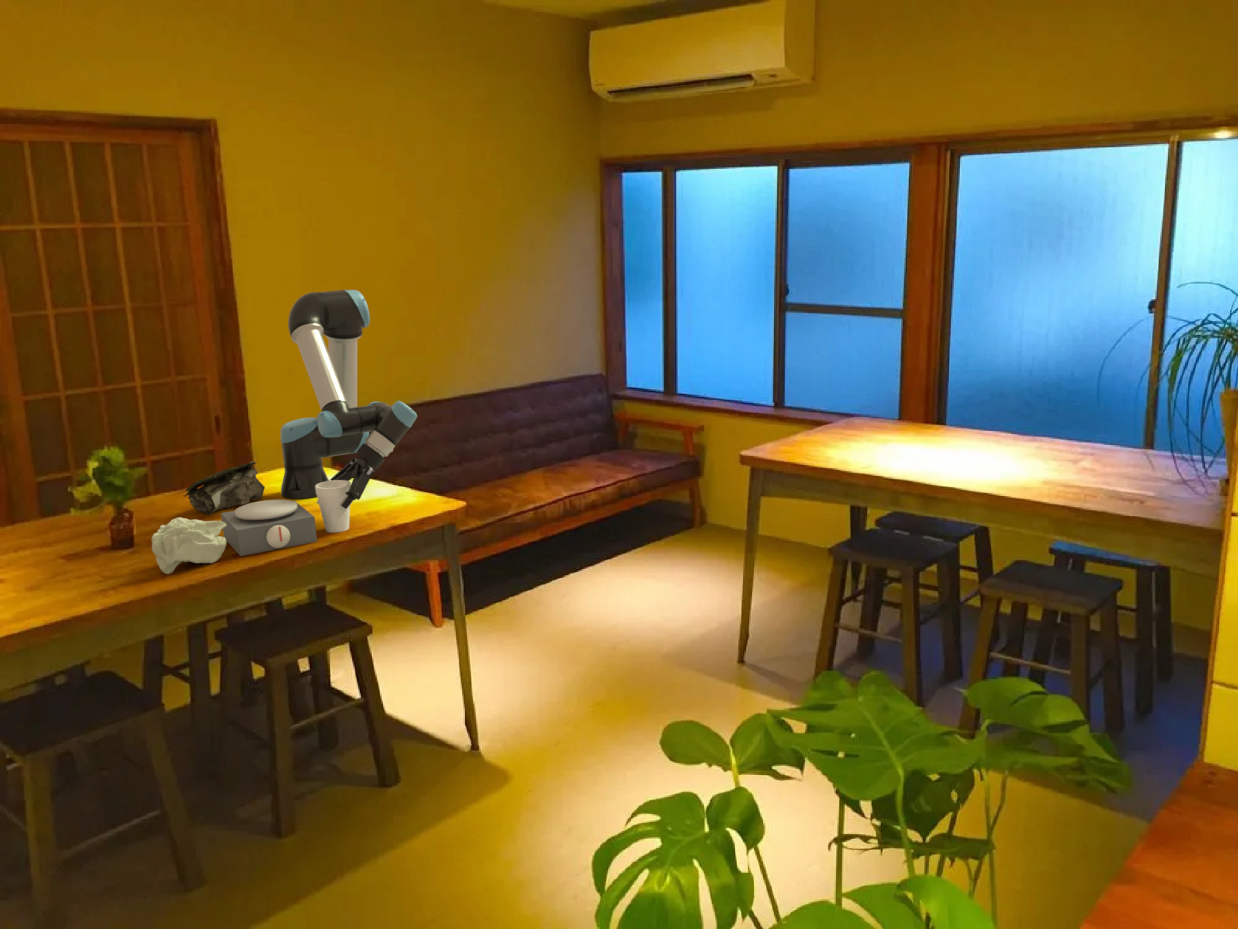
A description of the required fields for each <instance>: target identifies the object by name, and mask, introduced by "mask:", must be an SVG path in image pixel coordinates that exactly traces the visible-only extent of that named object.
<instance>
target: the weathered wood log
mask: <svg viewBox="0 0 1238 929" xmlns="http://www.w3.org/2000/svg"><path fill="white" fill-rule="evenodd" d="M254 465H256V461H250V462H248V463H245V464H240V465H238V466H236V467H229V468H224V469H223V470H220V471H217V472H215V473H213V474H211V475H210V476H208V477H204V478H201V479H198V480H197V481H195V482H193V483H192V484H191V485H190V486H188V487H187V488H186V489H185V492H187V493H186V494H183V495H182V497H185V498H186V497H187V496H188V497H187V498H188V500H189V504H190V506H192V508H194V509H195V510H196V511H198V512H200V513H203V514H204V515H205V516H206V515H207V516H209V515H212V514H213V513H214V512H215V511H218V510H222V509H225V508H226V509H229V508H232V507H234V506H237V505H242V506H243V505H246V504H249V503H250V500H252V501H253V500H255V501H256V500H260V499H262V497H263V495H264V492H265V489H266V488H265V485H264V484H263V483H262V482H261V481H259V479H258V478H257V477H256V476H257V475H258V474H259V473H258V471H257V469H256V468H255V467H254Z"/></svg>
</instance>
